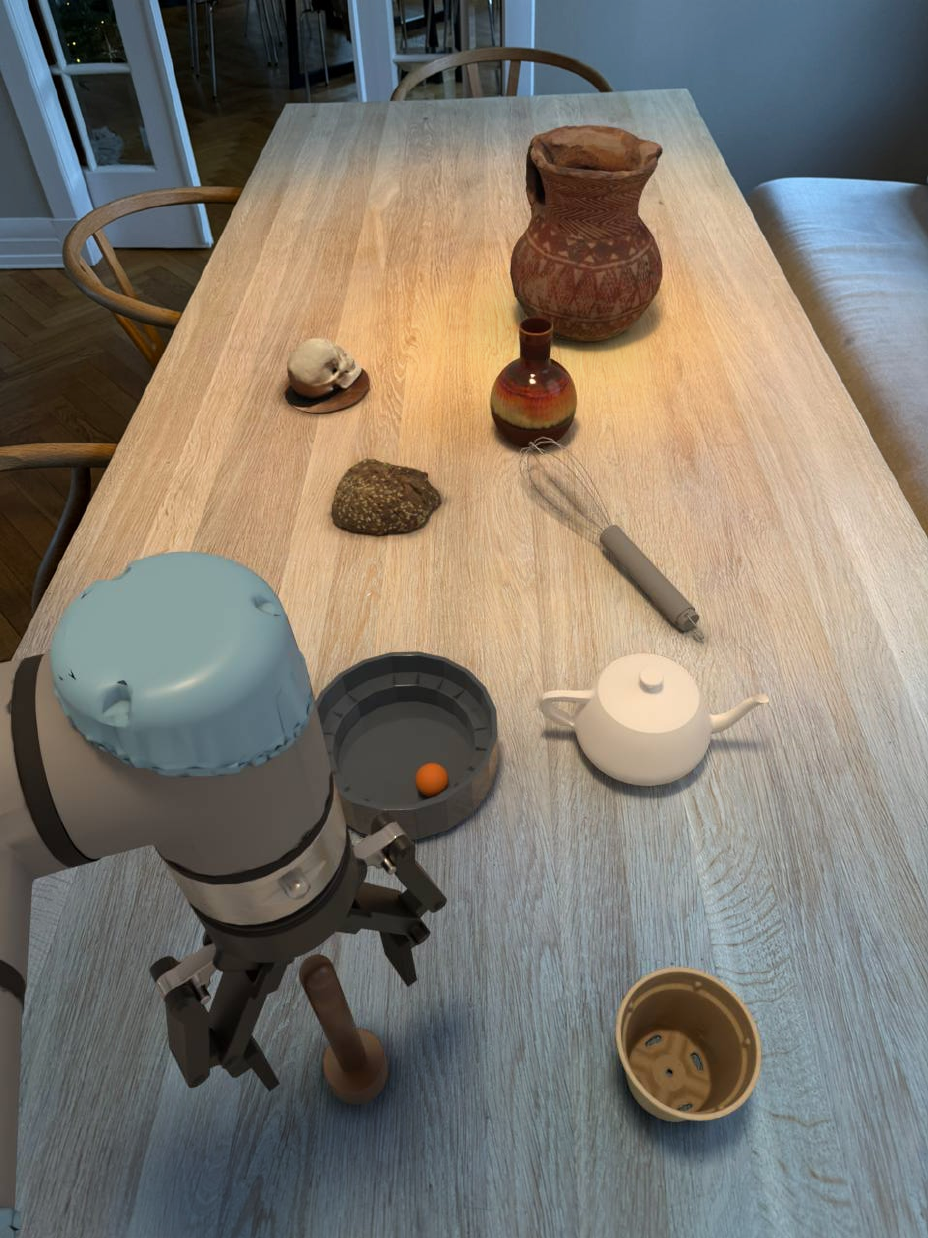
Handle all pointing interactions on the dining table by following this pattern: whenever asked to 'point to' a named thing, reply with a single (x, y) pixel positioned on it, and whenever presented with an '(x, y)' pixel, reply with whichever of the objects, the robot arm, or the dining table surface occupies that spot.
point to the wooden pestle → (343, 1036)
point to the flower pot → (687, 1045)
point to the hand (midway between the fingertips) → (334, 1016)
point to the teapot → (643, 719)
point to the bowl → (408, 740)
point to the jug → (587, 232)
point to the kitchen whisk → (629, 555)
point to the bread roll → (383, 498)
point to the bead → (431, 780)
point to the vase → (533, 391)
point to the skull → (323, 377)
